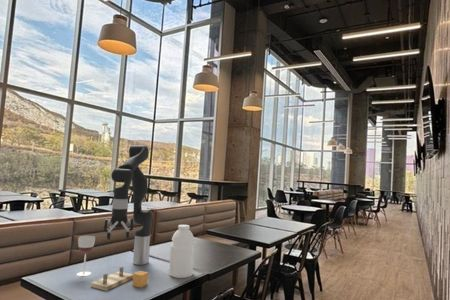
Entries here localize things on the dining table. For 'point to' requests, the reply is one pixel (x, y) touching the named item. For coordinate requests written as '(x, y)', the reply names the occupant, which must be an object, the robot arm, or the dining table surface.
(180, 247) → the bottle
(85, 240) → the wineglass
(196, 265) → the dining table surface
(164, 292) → the dining table surface
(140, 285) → the wooden toy cube
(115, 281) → the wooden peg rack
